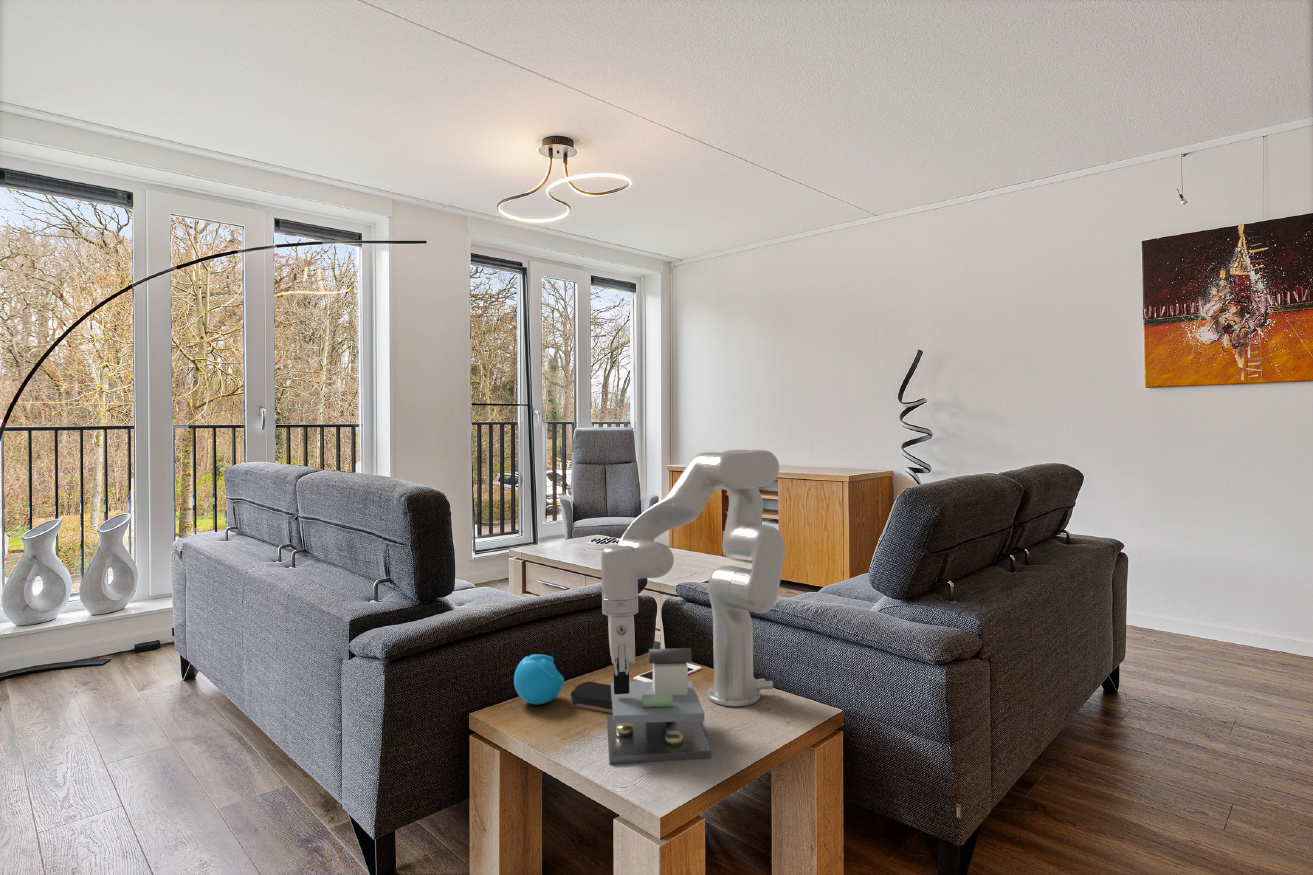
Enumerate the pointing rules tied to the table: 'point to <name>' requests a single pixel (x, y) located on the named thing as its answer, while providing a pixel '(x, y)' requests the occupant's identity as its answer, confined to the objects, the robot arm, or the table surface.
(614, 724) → the levelling stand
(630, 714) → the plate
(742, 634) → the robot arm
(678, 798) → the table surface
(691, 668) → the cell phone
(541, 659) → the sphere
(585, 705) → the black sponge
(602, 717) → the table surface
